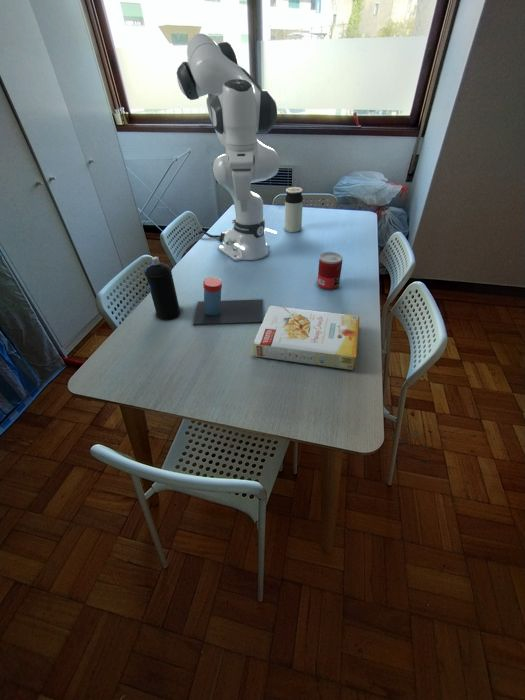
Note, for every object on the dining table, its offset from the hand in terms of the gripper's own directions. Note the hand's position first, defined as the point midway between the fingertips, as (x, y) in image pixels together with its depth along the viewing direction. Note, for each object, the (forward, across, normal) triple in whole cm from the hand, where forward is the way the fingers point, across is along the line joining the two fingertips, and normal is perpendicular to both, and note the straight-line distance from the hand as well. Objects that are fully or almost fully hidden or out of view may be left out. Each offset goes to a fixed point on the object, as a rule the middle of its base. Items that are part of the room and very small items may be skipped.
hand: (244, 205), depth 106 cm
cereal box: (+30, +30, +18) cm, 46 cm away
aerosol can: (+31, +12, -27) cm, 43 cm away
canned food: (+30, -3, +29) cm, 42 cm away
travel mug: (+31, -55, +20) cm, 67 cm away
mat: (+30, +13, -7) cm, 34 cm away
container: (+30, +13, -12) cm, 34 cm away
